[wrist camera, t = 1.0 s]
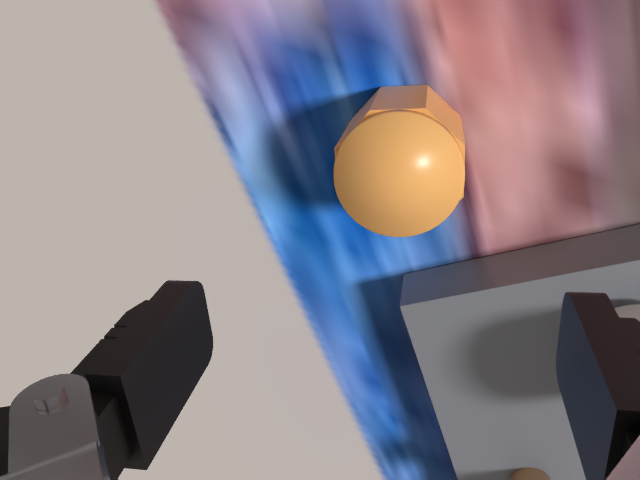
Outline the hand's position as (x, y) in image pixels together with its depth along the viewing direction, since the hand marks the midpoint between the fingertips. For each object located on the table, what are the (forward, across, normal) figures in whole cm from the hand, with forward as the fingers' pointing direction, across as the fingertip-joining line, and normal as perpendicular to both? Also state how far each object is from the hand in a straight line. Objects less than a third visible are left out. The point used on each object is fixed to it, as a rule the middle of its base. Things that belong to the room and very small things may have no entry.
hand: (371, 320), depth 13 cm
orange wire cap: (+14, 0, 0) cm, 14 cm away
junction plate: (+14, -8, +13) cm, 21 cm away
